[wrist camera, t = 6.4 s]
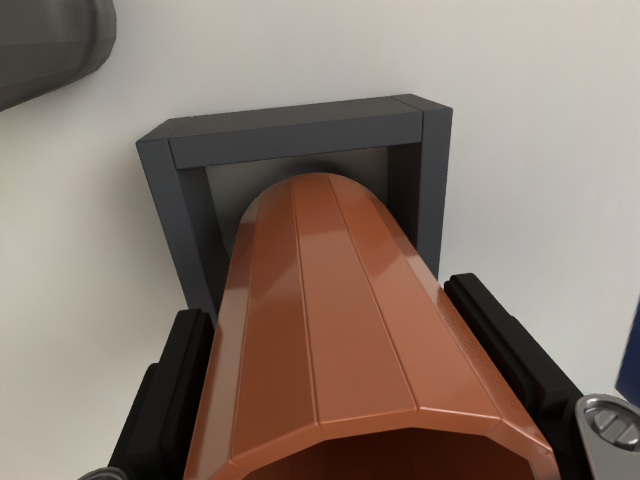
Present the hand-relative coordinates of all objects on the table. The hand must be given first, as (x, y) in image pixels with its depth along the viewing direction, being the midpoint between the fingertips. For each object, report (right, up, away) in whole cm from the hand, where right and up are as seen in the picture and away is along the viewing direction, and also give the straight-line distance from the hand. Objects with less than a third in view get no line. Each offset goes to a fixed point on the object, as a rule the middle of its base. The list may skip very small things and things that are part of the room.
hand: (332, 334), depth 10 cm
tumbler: (-1, +2, +4) cm, 5 cm away
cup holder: (-1, +4, +7) cm, 8 cm away
